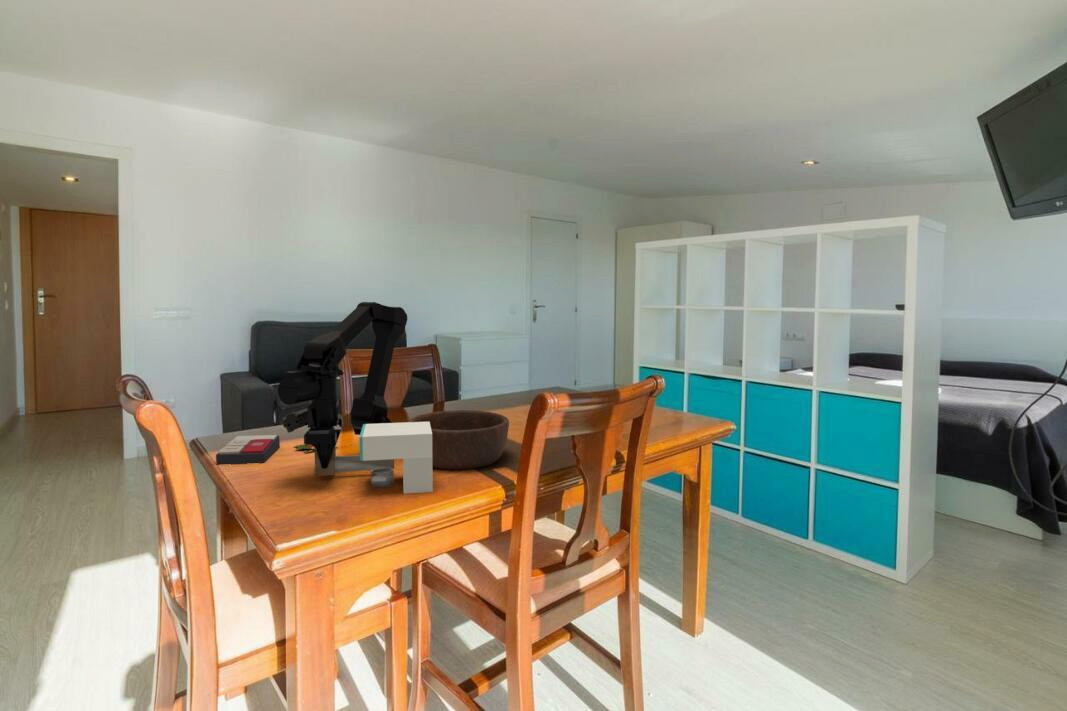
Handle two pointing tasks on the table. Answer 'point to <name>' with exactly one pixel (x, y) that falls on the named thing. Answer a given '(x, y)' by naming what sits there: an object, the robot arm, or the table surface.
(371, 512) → the table surface
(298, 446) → the lily flower
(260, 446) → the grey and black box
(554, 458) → the table surface
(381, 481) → the steel puck
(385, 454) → the l-shaped block
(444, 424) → the wooden bowl
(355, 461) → the grey mallet
